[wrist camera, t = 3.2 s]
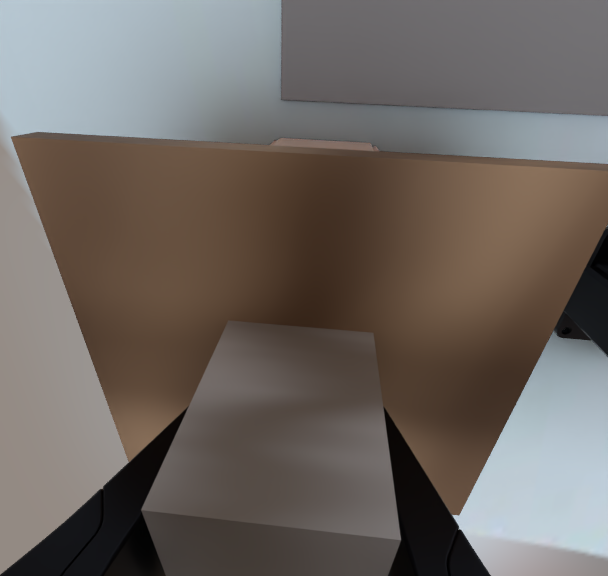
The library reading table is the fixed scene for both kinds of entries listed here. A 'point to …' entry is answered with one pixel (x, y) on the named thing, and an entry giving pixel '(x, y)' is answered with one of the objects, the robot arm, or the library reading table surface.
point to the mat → (448, 53)
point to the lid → (307, 326)
